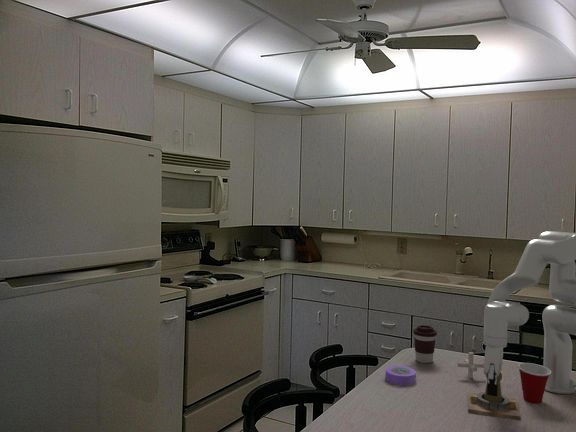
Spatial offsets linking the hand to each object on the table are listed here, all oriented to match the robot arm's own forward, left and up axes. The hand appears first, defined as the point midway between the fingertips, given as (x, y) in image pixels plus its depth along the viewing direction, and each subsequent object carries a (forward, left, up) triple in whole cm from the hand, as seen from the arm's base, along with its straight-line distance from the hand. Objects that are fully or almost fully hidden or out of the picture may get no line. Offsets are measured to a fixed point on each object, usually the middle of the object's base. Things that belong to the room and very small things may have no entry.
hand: (493, 392), depth 178 cm
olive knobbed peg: (0, 0, -3) cm, 3 cm away
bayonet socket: (0, 0, -5) cm, 5 cm away
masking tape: (+33, -15, -5) cm, 37 cm away
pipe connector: (+7, -28, -5) cm, 29 cm away
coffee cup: (+26, -43, -5) cm, 51 cm away
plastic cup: (-14, -11, -5) cm, 19 cm away
